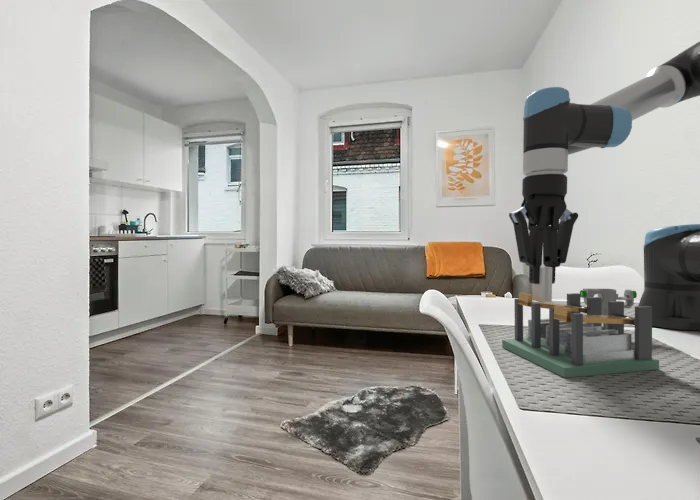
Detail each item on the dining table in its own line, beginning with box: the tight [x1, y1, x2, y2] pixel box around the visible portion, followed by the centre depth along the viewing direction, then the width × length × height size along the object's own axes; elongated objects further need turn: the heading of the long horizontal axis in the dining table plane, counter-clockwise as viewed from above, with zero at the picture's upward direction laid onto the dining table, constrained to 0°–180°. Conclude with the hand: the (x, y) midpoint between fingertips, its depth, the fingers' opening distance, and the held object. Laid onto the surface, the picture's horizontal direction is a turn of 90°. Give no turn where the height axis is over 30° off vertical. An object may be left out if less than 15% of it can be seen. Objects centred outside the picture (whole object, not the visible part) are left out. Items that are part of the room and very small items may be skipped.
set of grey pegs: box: [514, 292, 653, 366], centre depth 69 cm, size 14×16×8 cm
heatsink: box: [525, 318, 635, 364], centre depth 69 cm, size 9×15×4 cm, turn 10°
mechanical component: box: [579, 288, 638, 330], centre depth 83 cm, size 3×10×10 cm, turn 79°
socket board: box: [501, 337, 660, 379], centre depth 69 cm, size 17×17×2 cm
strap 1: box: [517, 291, 587, 314], centre depth 74 cm, size 14×4×2 cm, turn 100°
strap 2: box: [554, 305, 635, 326], centre depth 64 cm, size 14×4×2 cm, turn 100°
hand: (541, 300), depth 73 cm, fingers closed
